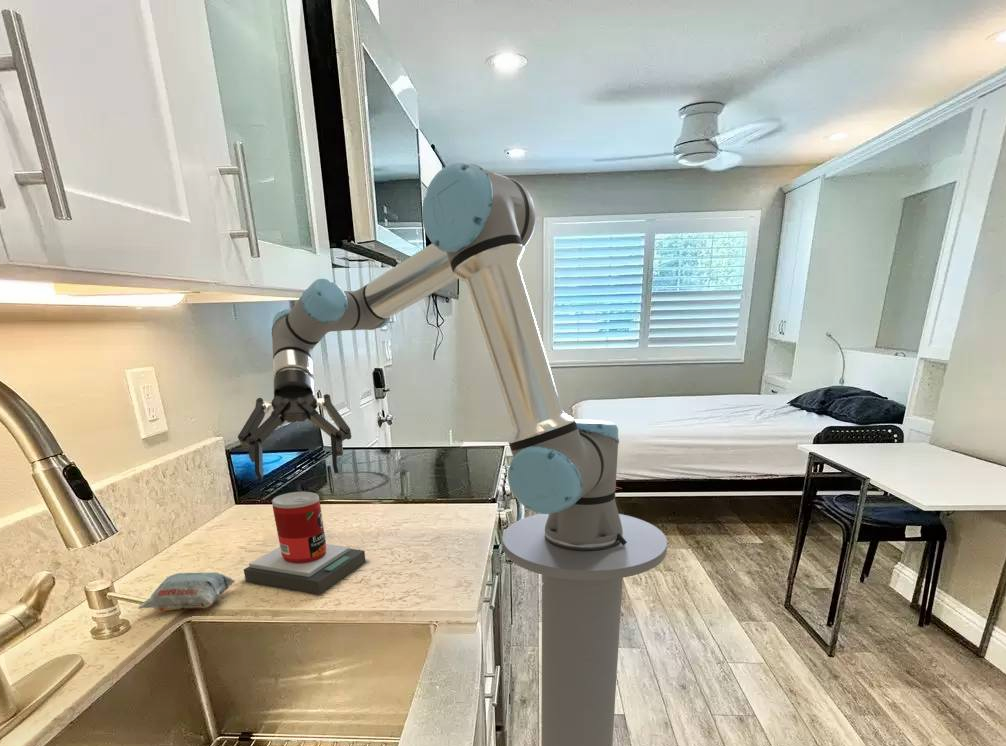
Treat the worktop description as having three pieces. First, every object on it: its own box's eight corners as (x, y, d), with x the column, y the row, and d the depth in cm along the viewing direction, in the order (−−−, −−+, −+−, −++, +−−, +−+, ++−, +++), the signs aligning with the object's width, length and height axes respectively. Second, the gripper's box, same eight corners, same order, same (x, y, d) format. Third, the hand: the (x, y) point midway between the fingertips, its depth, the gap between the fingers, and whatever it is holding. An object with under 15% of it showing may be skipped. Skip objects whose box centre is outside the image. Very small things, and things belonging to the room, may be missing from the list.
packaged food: (215, 616, 90) (208, 588, 88) (140, 618, 90) (132, 590, 88) (238, 592, 98) (232, 565, 96) (169, 594, 98) (162, 567, 96)
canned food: (321, 563, 100) (311, 504, 96) (275, 564, 100) (264, 505, 96) (332, 546, 107) (324, 490, 103) (289, 547, 107) (280, 491, 103)
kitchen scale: (365, 562, 108) (364, 546, 107) (319, 594, 96) (317, 577, 95) (297, 552, 114) (294, 537, 112) (245, 581, 102) (242, 565, 100)
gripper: (359, 388, 119) (368, 477, 111) (232, 395, 114) (231, 488, 106) (356, 364, 112) (365, 456, 104) (220, 370, 107) (219, 467, 99)
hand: (297, 472), depth 105 cm, fingers open, 13 cm apart
